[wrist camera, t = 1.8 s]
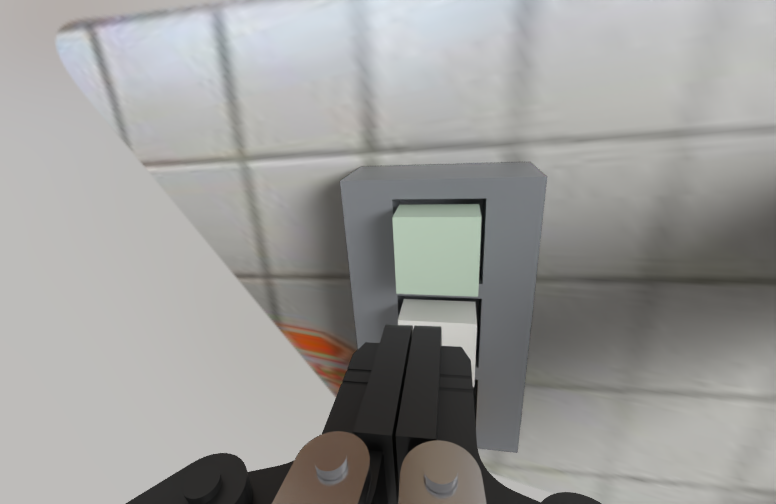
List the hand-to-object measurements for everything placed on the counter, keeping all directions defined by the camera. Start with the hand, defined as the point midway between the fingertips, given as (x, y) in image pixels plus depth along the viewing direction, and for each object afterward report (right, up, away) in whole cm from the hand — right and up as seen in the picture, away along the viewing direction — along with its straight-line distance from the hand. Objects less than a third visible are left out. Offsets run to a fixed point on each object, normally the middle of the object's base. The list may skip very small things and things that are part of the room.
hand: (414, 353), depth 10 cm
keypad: (+3, 0, +13) cm, 13 cm away
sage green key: (+2, +3, +7) cm, 8 cm away
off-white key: (+2, -1, +9) cm, 10 cm away
